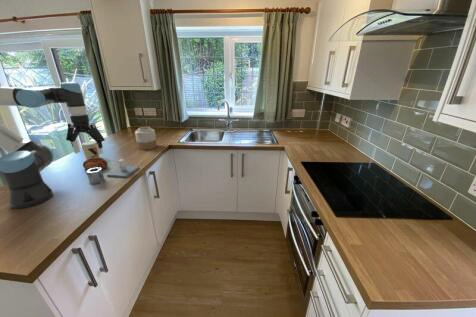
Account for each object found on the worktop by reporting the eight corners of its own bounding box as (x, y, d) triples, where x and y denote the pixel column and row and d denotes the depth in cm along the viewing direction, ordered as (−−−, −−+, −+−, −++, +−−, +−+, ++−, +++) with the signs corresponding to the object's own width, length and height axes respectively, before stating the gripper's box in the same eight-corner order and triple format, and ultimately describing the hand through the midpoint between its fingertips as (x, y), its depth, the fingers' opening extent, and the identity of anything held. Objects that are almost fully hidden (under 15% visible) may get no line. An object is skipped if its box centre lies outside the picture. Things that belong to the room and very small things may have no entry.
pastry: (115, 167, 136) (113, 156, 133) (90, 176, 124) (87, 164, 121) (101, 162, 144) (98, 152, 141) (76, 170, 132) (73, 159, 129)
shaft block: (126, 177, 123) (123, 165, 120) (107, 176, 124) (104, 164, 121) (139, 168, 136) (137, 156, 133) (122, 167, 137) (120, 155, 134)
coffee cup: (93, 161, 145) (88, 145, 141) (82, 160, 147) (77, 144, 143) (103, 156, 154) (99, 141, 150) (93, 155, 156) (88, 140, 151)
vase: (133, 149, 171) (129, 129, 165) (145, 143, 185) (142, 125, 179) (149, 150, 168) (146, 130, 162) (160, 145, 182) (157, 126, 175)
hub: (98, 184, 115) (94, 173, 112) (86, 183, 116) (83, 172, 113) (106, 178, 122) (104, 167, 119) (96, 177, 122) (93, 167, 120)
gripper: (106, 114, 108) (114, 151, 116) (62, 112, 110) (74, 149, 118) (95, 116, 101) (105, 156, 109) (49, 115, 103) (62, 154, 111)
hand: (89, 153), depth 113 cm, fingers open, 13 cm apart
